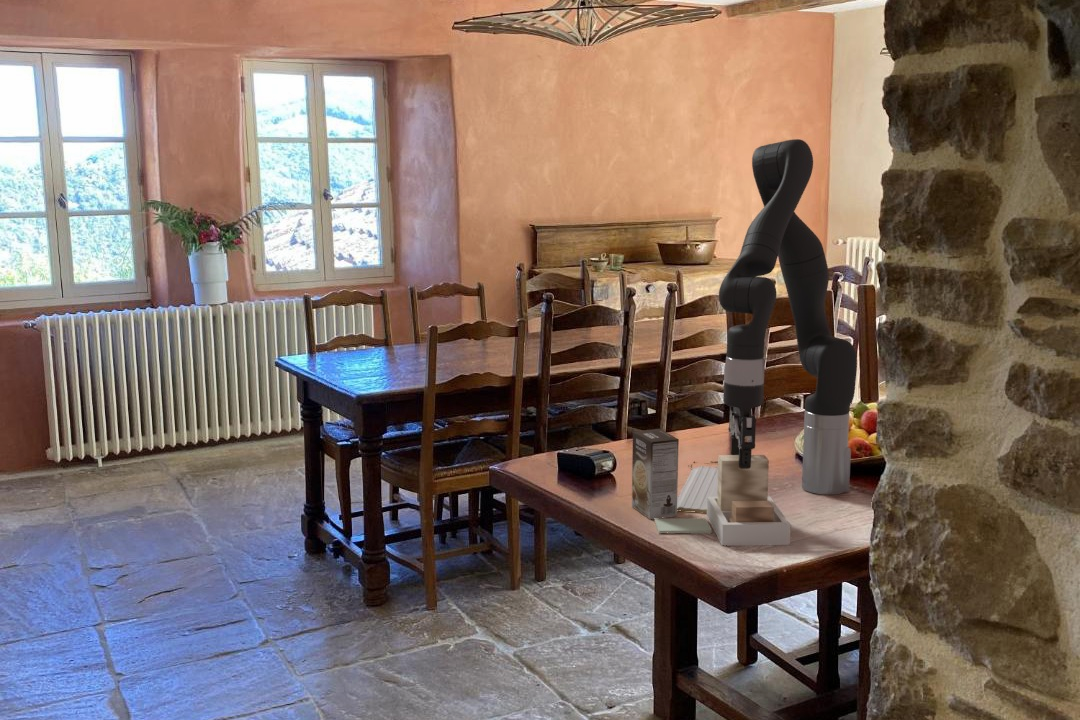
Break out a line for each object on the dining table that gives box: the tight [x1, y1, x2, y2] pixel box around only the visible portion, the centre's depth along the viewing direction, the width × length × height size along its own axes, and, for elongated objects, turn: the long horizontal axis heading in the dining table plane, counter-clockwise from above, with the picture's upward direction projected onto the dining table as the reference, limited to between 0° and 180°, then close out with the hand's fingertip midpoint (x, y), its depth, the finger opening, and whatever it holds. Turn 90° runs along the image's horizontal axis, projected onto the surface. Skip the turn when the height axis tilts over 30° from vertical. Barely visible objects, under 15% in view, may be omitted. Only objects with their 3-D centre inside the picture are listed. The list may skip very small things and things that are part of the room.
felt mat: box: [654, 517, 713, 534], centre depth 201 cm, size 10×7×1 cm
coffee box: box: [631, 428, 679, 520], centre depth 209 cm, size 9×6×16 cm
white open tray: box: [706, 495, 791, 547], centre depth 199 cm, size 12×17×4 cm
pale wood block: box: [717, 454, 770, 511], centre depth 203 cm, size 9×4×13 cm, turn 91°
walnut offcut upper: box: [731, 501, 774, 523], centre depth 193 cm, size 7×4×4 cm, turn 91°
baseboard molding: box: [677, 460, 718, 514], centre depth 224 cm, size 31×3×12 cm
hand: (740, 462), depth 202 cm, fingers open, 8 cm apart
